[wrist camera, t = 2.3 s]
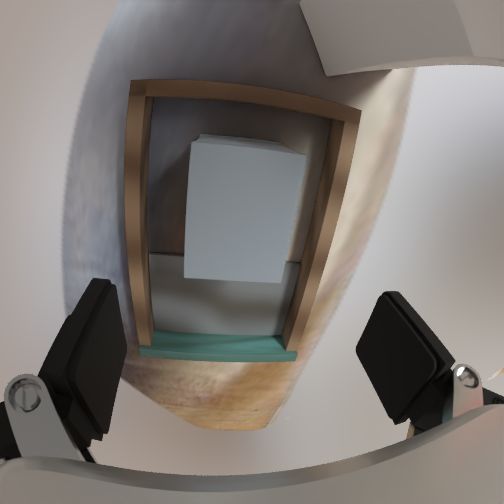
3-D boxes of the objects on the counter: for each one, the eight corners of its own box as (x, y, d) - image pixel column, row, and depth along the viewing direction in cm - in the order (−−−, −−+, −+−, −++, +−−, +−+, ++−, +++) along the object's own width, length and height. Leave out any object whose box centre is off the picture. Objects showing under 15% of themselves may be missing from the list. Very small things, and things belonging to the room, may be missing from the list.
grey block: (200, 133, 19) (191, 142, 13) (279, 142, 20) (307, 156, 14) (192, 231, 23) (184, 277, 17) (264, 236, 24) (280, 283, 18)
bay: (140, 83, 17) (128, 79, 14) (347, 109, 19) (364, 110, 17) (144, 335, 28) (140, 356, 25) (289, 341, 31) (294, 361, 28)
